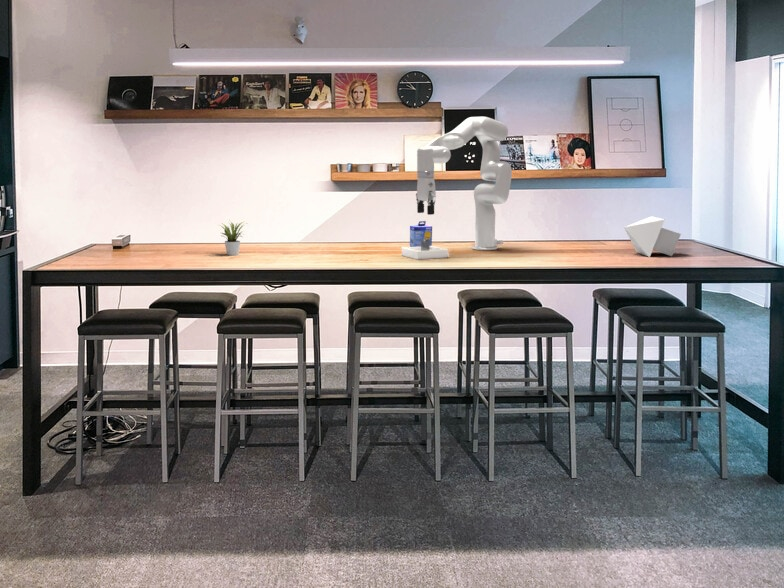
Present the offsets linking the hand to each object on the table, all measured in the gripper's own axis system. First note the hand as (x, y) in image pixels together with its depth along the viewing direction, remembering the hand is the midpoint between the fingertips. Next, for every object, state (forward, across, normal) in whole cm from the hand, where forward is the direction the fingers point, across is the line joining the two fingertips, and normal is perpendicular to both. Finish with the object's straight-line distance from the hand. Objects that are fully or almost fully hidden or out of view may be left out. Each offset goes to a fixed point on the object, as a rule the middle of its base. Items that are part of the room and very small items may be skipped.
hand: (425, 213), depth 362 cm
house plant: (+19, +44, +76) cm, 90 cm away
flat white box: (+19, 0, 0) cm, 19 cm away
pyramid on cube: (+21, -39, -96) cm, 105 cm away
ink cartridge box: (+20, +18, -7) cm, 27 cm away
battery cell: (+19, 0, 0) cm, 19 cm away
